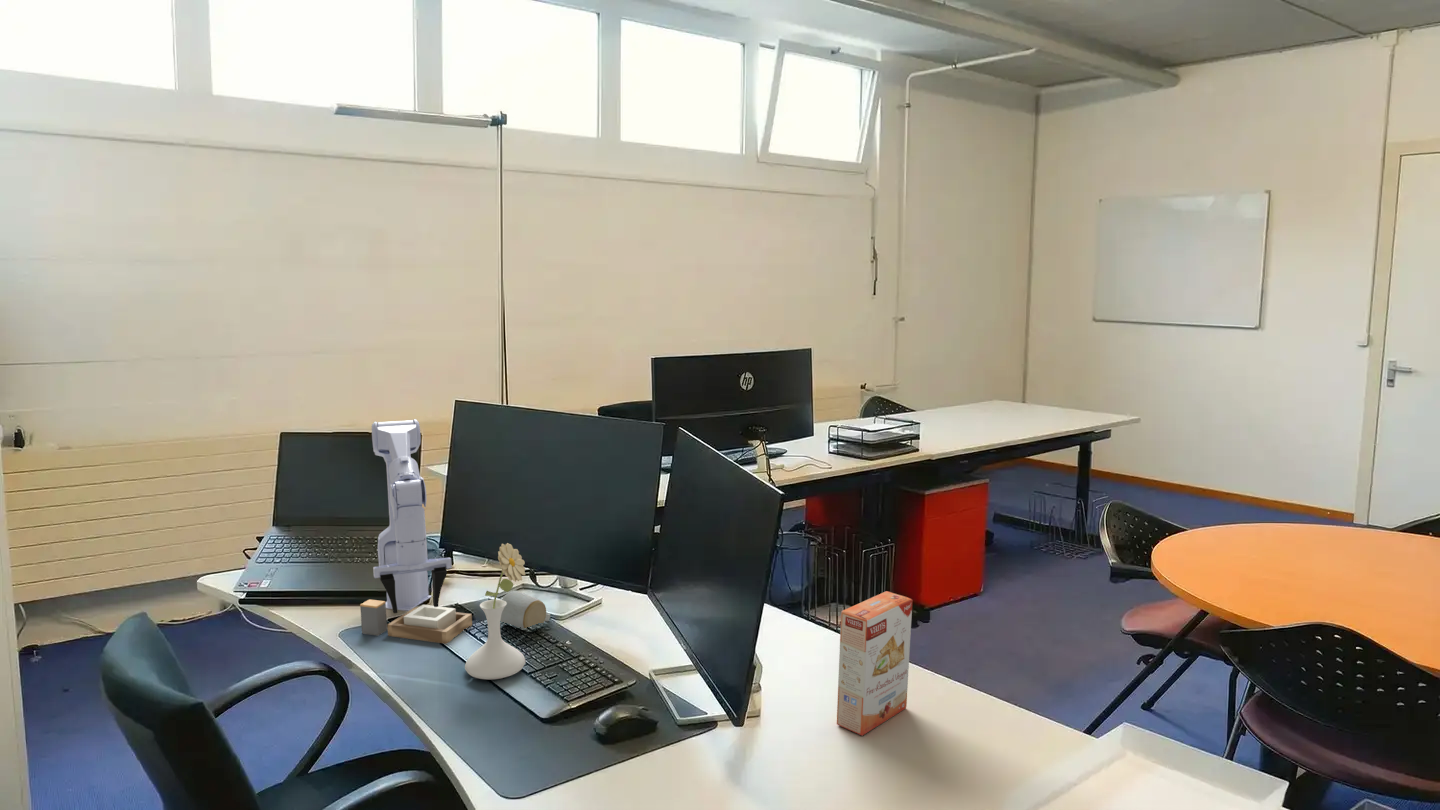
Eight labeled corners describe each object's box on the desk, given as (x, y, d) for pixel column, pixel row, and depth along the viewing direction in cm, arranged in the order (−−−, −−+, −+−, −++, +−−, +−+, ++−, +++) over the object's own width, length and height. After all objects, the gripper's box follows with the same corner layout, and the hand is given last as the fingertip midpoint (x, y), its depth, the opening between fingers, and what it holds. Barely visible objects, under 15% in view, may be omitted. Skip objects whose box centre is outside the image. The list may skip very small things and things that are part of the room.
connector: (371, 630, 193) (369, 599, 192) (387, 632, 192) (385, 601, 191) (362, 635, 190) (360, 604, 189) (378, 637, 189) (376, 606, 188)
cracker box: (864, 738, 150) (868, 619, 147) (835, 725, 154) (838, 610, 151) (909, 709, 160) (914, 597, 157) (881, 697, 164) (885, 588, 161)
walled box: (416, 619, 198) (415, 607, 198) (472, 627, 195) (471, 614, 194) (388, 637, 189) (387, 624, 188) (446, 645, 185) (445, 632, 185)
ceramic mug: (525, 638, 189) (524, 603, 188) (497, 629, 193) (496, 595, 192) (559, 622, 198) (559, 589, 197) (532, 614, 202) (531, 582, 201)
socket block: (423, 621, 196) (423, 604, 195) (456, 626, 194) (455, 608, 193) (404, 634, 189) (403, 616, 189) (437, 638, 187) (437, 620, 187)
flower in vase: (493, 691, 166) (488, 561, 162) (452, 675, 172) (446, 550, 168) (544, 665, 176) (540, 543, 172) (503, 651, 183) (499, 533, 179)
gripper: (373, 547, 170) (378, 618, 170) (452, 538, 176) (456, 607, 176) (370, 543, 177) (375, 611, 177) (446, 534, 183) (451, 600, 183)
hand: (415, 609), depth 177 cm, fingers open, 7 cm apart
